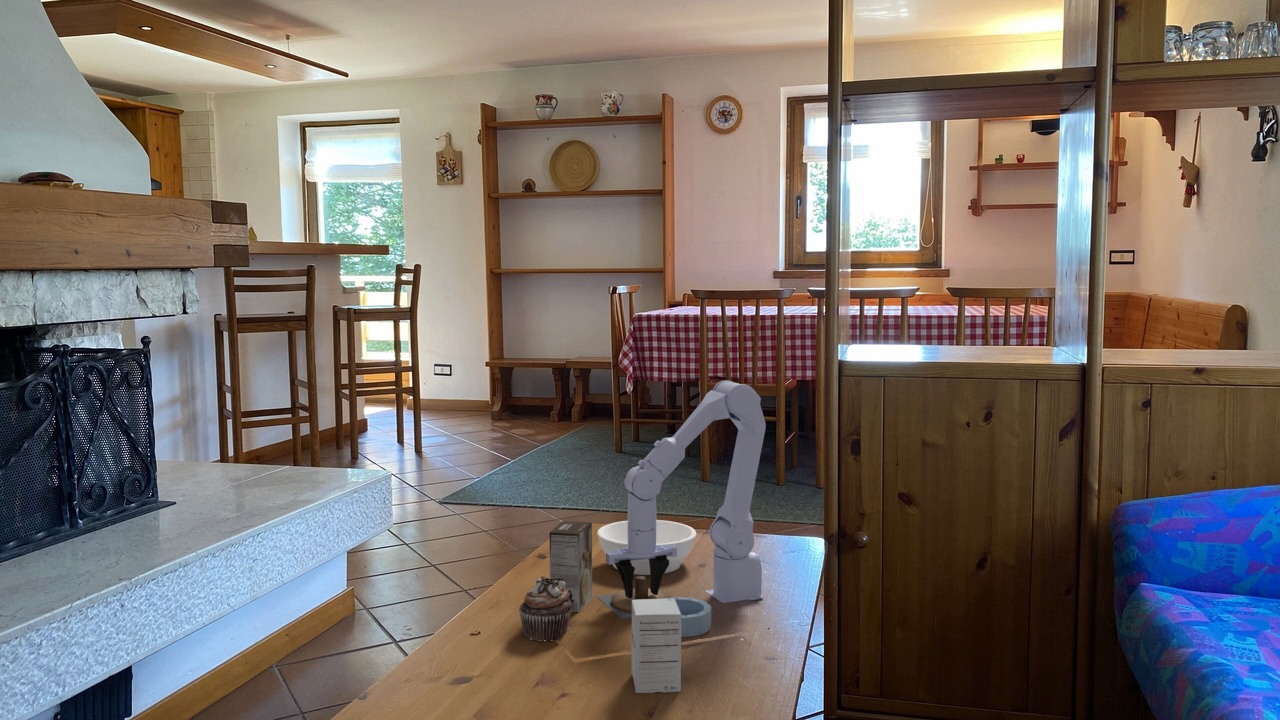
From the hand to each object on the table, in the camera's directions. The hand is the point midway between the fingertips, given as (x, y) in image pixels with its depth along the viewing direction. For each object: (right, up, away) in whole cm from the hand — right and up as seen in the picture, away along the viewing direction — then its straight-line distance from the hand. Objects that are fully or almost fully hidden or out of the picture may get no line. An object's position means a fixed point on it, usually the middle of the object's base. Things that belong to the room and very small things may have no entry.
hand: (641, 595), depth 180 cm
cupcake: (-18, -3, -15) cm, 23 cm away
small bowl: (+7, -3, -12) cm, 14 cm away
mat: (0, -2, 0) cm, 2 cm away
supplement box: (+2, -5, -36) cm, 36 cm away
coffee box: (-14, -2, 0) cm, 14 cm away
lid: (0, -2, 0) cm, 2 cm away
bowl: (+1, -1, +26) cm, 26 cm away
